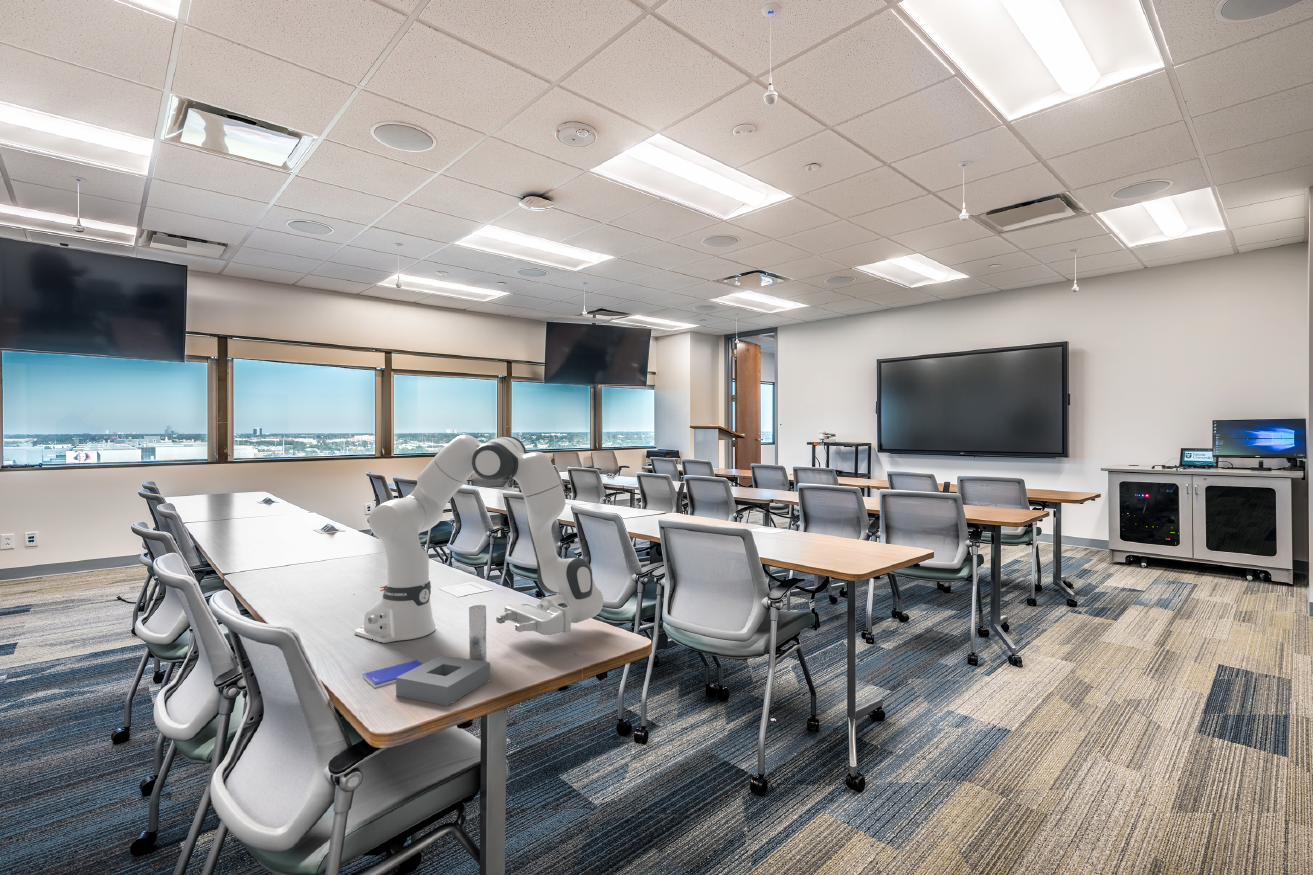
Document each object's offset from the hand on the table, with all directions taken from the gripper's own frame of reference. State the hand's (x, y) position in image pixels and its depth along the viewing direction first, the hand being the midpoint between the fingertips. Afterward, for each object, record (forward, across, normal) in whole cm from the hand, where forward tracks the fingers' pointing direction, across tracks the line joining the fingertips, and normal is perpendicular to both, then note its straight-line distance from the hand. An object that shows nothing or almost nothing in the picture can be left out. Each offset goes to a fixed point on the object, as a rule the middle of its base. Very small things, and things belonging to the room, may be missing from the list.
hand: (506, 624), depth 150 cm
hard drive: (+25, -8, +9) cm, 28 cm away
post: (+8, 0, +8) cm, 11 cm away
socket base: (+20, +8, +8) cm, 23 cm away
